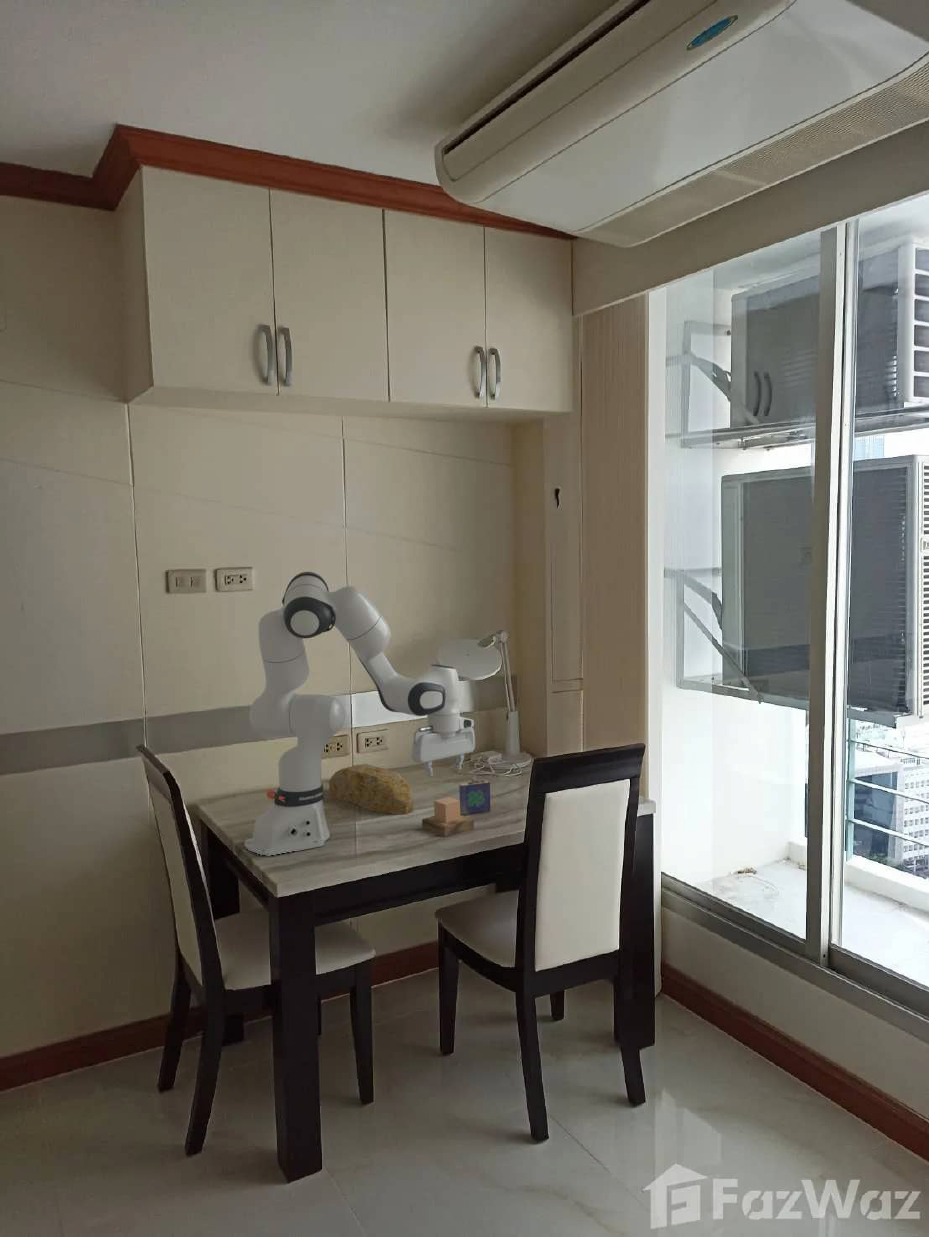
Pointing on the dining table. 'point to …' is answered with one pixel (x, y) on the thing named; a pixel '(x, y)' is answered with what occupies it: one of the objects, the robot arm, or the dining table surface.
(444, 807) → the terracotta block
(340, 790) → the bread
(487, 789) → the flask
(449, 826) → the walnut plinth
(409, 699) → the robot arm
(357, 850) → the dining table surface
